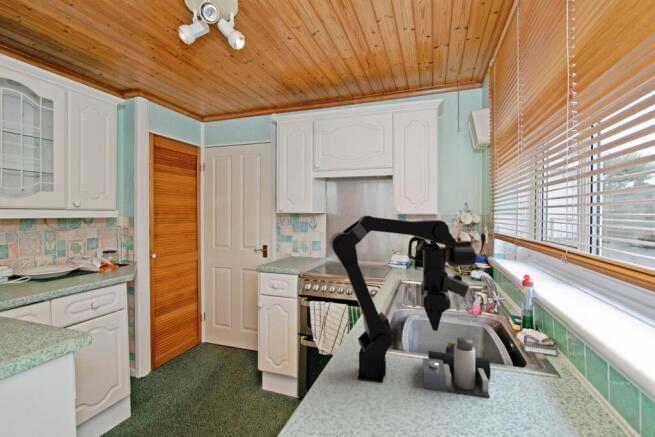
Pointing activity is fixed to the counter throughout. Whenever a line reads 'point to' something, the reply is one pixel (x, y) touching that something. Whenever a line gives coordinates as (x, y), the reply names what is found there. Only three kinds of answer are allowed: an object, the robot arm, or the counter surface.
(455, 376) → the grey domed cylinder
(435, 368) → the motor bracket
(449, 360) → the pipe connector
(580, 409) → the counter surface
